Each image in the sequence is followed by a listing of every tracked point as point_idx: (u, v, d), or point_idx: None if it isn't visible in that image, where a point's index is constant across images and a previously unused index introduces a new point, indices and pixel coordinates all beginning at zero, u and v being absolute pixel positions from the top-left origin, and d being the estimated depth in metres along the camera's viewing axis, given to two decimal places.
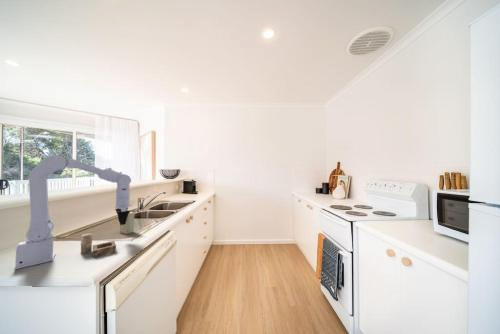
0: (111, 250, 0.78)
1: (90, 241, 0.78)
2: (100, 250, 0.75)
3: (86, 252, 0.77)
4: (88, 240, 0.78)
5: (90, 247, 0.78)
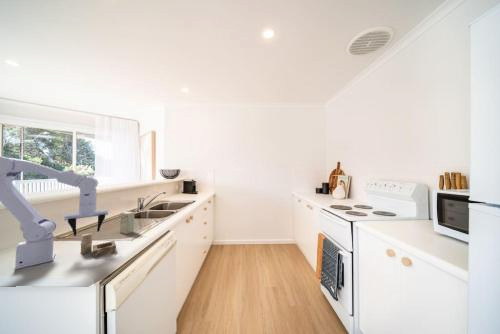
0: (111, 250, 0.78)
1: (90, 241, 0.78)
2: (100, 250, 0.75)
3: (86, 252, 0.77)
4: (89, 240, 0.78)
5: (90, 247, 0.78)
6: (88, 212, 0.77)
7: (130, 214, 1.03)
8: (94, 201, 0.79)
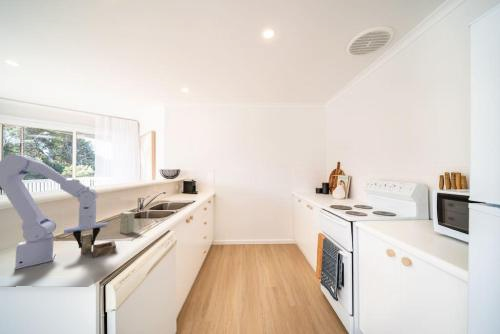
0: (111, 250, 0.78)
1: (90, 241, 0.78)
2: (100, 250, 0.75)
3: (86, 252, 0.77)
4: (88, 240, 0.78)
5: (90, 247, 0.78)
6: (88, 225, 0.77)
7: (130, 214, 1.03)
8: (94, 214, 0.79)
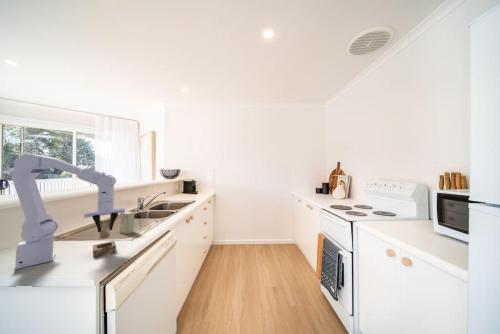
0: (111, 250, 0.78)
1: (109, 226, 0.79)
2: (100, 250, 0.75)
3: (105, 237, 0.78)
4: (107, 225, 0.79)
5: (109, 232, 0.79)
6: (106, 210, 0.78)
7: (130, 214, 1.03)
8: (111, 199, 0.79)
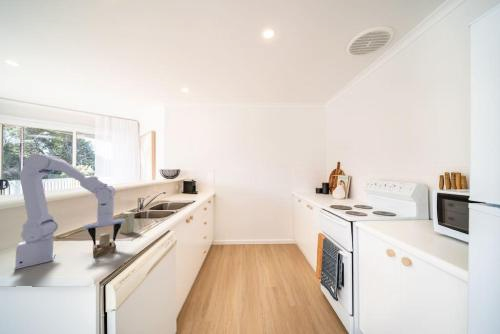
0: (111, 250, 0.78)
1: (108, 240, 0.79)
2: (100, 250, 0.75)
3: None
4: (107, 239, 0.78)
5: None
6: (106, 221, 0.77)
7: (130, 214, 1.03)
8: (111, 210, 0.79)
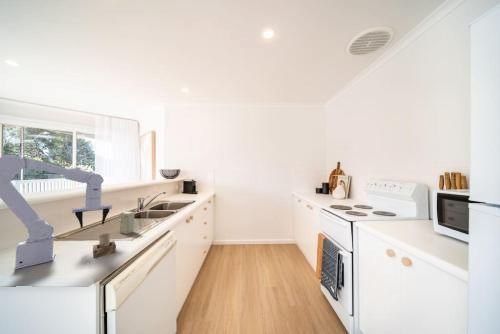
0: (111, 250, 0.78)
1: (108, 240, 0.79)
2: (100, 250, 0.75)
3: None
4: (107, 239, 0.78)
5: None
6: (94, 206, 0.83)
7: (130, 214, 1.03)
8: (100, 195, 0.86)
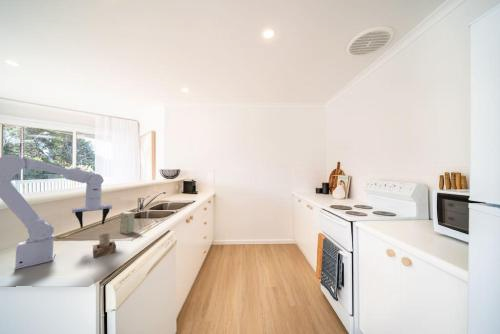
0: (111, 250, 0.78)
1: (108, 240, 0.79)
2: (100, 250, 0.75)
3: None
4: (107, 239, 0.78)
5: None
6: (94, 206, 0.83)
7: (130, 214, 1.03)
8: (100, 195, 0.86)
